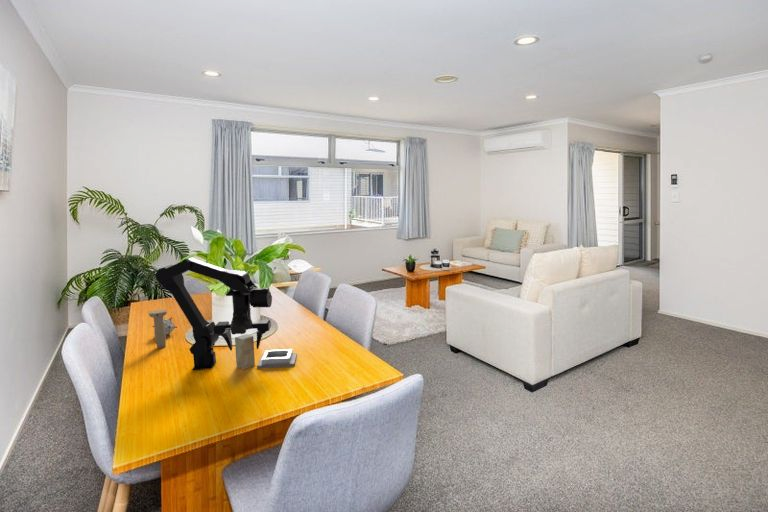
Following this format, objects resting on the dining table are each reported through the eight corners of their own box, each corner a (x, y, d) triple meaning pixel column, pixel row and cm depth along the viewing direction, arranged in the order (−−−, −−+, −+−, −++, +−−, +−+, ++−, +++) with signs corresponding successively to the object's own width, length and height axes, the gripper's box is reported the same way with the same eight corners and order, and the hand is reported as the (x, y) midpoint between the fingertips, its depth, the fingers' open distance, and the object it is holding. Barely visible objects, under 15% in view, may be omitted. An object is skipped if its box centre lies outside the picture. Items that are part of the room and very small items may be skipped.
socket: (257, 368, 150) (256, 360, 150) (262, 357, 160) (261, 350, 160) (294, 366, 152) (293, 358, 151) (297, 355, 161) (296, 348, 161)
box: (243, 369, 149) (241, 339, 148) (236, 367, 152) (233, 337, 150) (255, 364, 154) (253, 335, 152) (248, 362, 156) (246, 333, 155)
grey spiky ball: (162, 343, 189) (154, 323, 191) (181, 333, 192) (173, 314, 194) (156, 339, 181) (147, 319, 183) (176, 330, 183) (167, 310, 186)
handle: (169, 347, 172) (166, 312, 170) (151, 350, 170) (148, 314, 168) (170, 344, 177) (167, 309, 175) (153, 346, 174) (149, 311, 172)
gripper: (207, 315, 141) (211, 359, 143) (264, 312, 143) (267, 356, 145) (216, 306, 152) (220, 347, 154) (270, 304, 154) (272, 345, 156)
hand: (244, 349), depth 152 cm, fingers open, 9 cm apart
